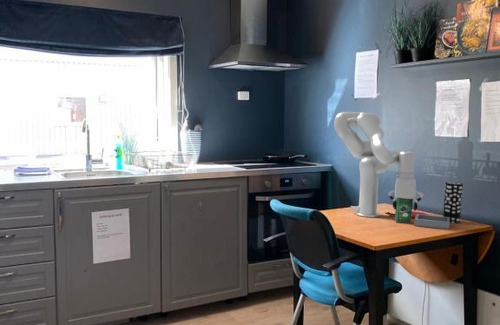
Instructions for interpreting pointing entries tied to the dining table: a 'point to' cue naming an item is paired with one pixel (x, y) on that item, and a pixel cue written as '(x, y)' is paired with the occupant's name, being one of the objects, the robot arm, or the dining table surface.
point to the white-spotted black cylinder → (453, 201)
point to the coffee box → (403, 210)
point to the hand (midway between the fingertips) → (404, 209)
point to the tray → (432, 221)
